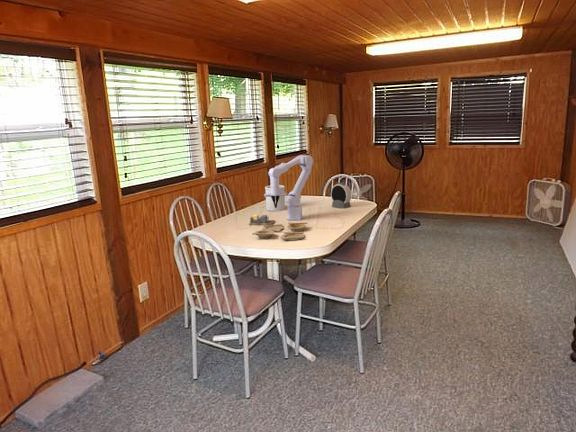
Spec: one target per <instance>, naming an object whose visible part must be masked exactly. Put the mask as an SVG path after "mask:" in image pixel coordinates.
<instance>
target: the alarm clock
mask: <svg viewBox="0 0 576 432" xmlns="http://www.w3.org/2000/svg"><path fill="white" fill-rule="evenodd" d="M330 197H331V200H332V203H331V204H332V205H331V207H332V208H335V209H349V208H351V202H350V201H351V200H352V192H351V188H350V187H349V186H348V185H347V184H346V183H345V182H337V183H336V184H334V185H333V186H332V188H331V190H330Z"/></svg>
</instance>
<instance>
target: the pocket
mask: <svg viewBox="0 0 576 432" xmlns="http://www.w3.org/2000/svg"><path fill="white" fill-rule="evenodd" d="M249 220H250V222H249V223H261V220H253V218H252V216H251V217H249Z"/></svg>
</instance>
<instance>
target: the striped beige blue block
mask: <svg viewBox="0 0 576 432" xmlns="http://www.w3.org/2000/svg"><path fill="white" fill-rule="evenodd" d="M260 217H261V216H259V217H258V218H257V220H261V219H260ZM265 220H266V222H269V220H270V218H269V216H267V217H265Z"/></svg>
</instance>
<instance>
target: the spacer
mask: <svg viewBox="0 0 576 432" xmlns="http://www.w3.org/2000/svg"><path fill="white" fill-rule="evenodd" d="M251 217H252V218H253V220H257V218H258V217H260V215H259V214H253V215H252V216H251Z"/></svg>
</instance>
